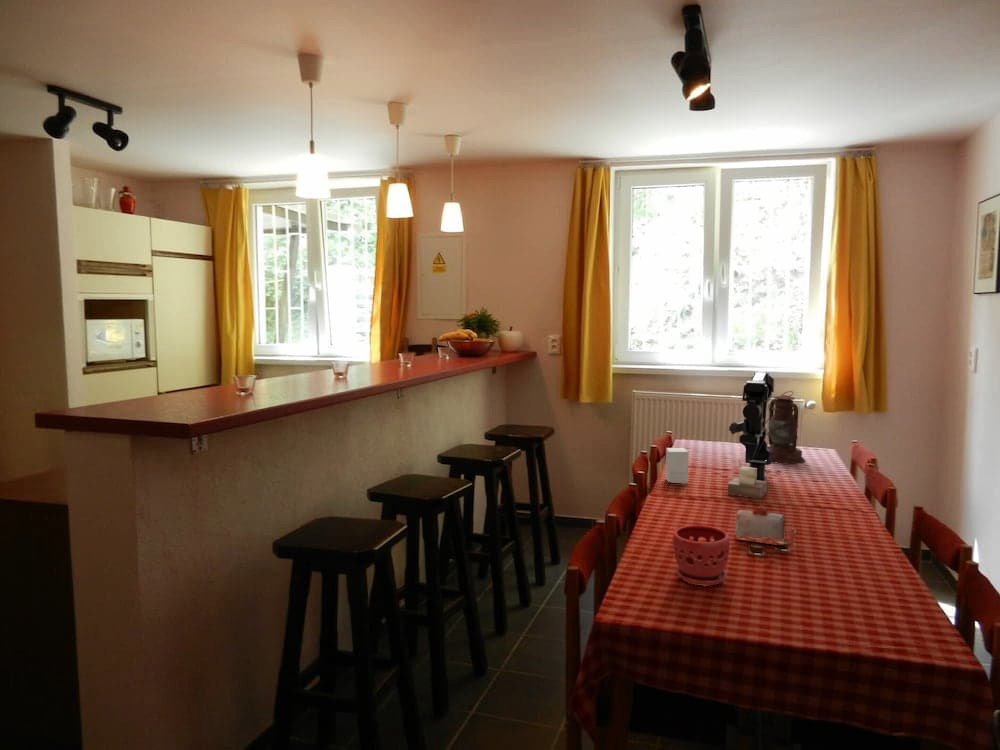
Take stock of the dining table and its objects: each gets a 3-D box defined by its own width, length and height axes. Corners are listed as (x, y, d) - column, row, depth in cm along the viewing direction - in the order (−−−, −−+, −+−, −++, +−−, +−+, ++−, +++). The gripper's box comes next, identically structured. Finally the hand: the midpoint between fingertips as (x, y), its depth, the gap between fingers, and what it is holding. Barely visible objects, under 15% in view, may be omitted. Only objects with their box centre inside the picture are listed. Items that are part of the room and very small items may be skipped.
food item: (732, 541, 196) (733, 508, 195) (735, 533, 203) (737, 500, 202) (784, 549, 190) (785, 514, 189) (785, 540, 197) (787, 506, 196)
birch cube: (742, 479, 250) (742, 466, 249) (756, 481, 247) (756, 468, 247) (738, 482, 245) (739, 469, 245) (753, 484, 243) (754, 470, 242)
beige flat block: (735, 487, 254) (735, 477, 254) (766, 492, 248) (766, 481, 248) (727, 494, 245) (728, 483, 244) (760, 499, 239) (760, 487, 239)
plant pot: (685, 565, 177) (687, 520, 176) (736, 578, 169) (737, 531, 168) (662, 581, 167) (664, 533, 166) (715, 595, 159) (717, 545, 158)
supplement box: (684, 480, 266) (685, 447, 264) (687, 484, 258) (688, 451, 257) (665, 479, 266) (665, 447, 265) (667, 484, 259) (668, 451, 258)
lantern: (749, 456, 308) (752, 389, 306) (784, 453, 314) (787, 388, 311) (778, 465, 290) (781, 395, 288) (814, 462, 296) (818, 393, 293)
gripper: (737, 410, 262) (736, 450, 264) (725, 417, 246) (723, 460, 248) (768, 412, 256) (766, 453, 258) (757, 420, 240) (756, 464, 242)
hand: (752, 457), depth 252 cm, fingers open, 9 cm apart
